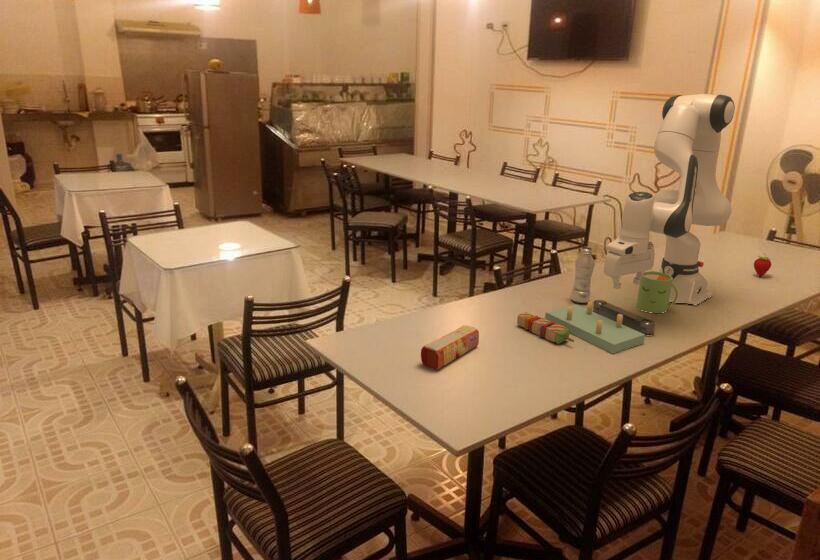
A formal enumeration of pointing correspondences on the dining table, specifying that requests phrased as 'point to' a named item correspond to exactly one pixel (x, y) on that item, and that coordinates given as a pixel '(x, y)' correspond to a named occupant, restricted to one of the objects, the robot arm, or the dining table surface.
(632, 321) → the long charcoal rail
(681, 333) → the dining table surface
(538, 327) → the skewer
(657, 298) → the mug
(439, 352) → the snack package
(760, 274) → the strawberry
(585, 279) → the plastic bottle
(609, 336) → the peg rack
